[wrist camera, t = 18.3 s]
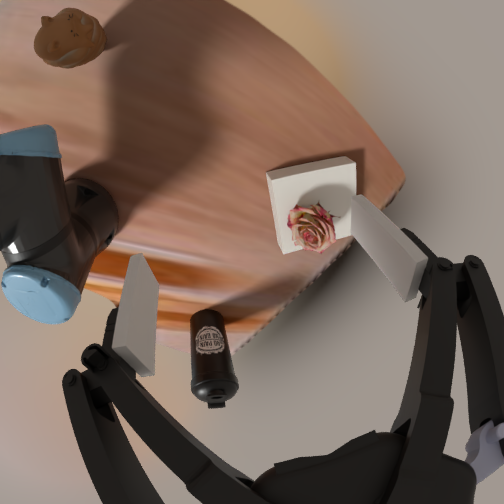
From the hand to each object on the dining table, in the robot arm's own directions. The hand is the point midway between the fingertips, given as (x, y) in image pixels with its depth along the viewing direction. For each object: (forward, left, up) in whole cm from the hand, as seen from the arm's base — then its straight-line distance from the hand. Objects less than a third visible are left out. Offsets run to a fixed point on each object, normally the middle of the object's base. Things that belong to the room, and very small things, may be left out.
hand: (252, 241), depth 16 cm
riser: (+15, -17, -32) cm, 39 cm away
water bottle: (-14, -43, -32) cm, 55 cm away
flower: (+15, -17, -28) cm, 36 cm away
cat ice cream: (-15, +22, -32) cm, 41 cm away
